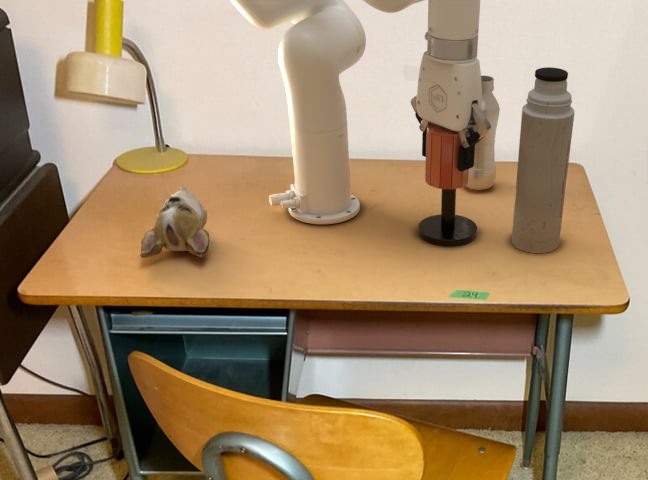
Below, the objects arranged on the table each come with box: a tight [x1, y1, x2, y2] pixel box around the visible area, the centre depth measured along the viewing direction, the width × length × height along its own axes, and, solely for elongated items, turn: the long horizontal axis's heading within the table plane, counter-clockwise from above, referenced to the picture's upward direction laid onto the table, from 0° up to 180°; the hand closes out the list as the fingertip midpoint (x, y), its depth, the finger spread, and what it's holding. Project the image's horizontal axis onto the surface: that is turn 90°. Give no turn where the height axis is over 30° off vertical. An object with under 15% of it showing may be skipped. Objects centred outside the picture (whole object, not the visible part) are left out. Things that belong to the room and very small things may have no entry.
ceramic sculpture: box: [139, 186, 211, 259], centre depth 136 cm, size 11×9×15 cm
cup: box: [424, 122, 470, 190], centre depth 136 cm, size 7×7×9 cm
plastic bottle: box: [464, 75, 501, 191], centre depth 154 cm, size 6×7×20 cm
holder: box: [418, 189, 478, 248], centre depth 139 cm, size 10×10×16 cm
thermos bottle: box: [511, 66, 575, 254], centre depth 134 cm, size 8×8×28 cm
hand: (447, 160), depth 137 cm, fingers closed on cup, 7 cm apart
